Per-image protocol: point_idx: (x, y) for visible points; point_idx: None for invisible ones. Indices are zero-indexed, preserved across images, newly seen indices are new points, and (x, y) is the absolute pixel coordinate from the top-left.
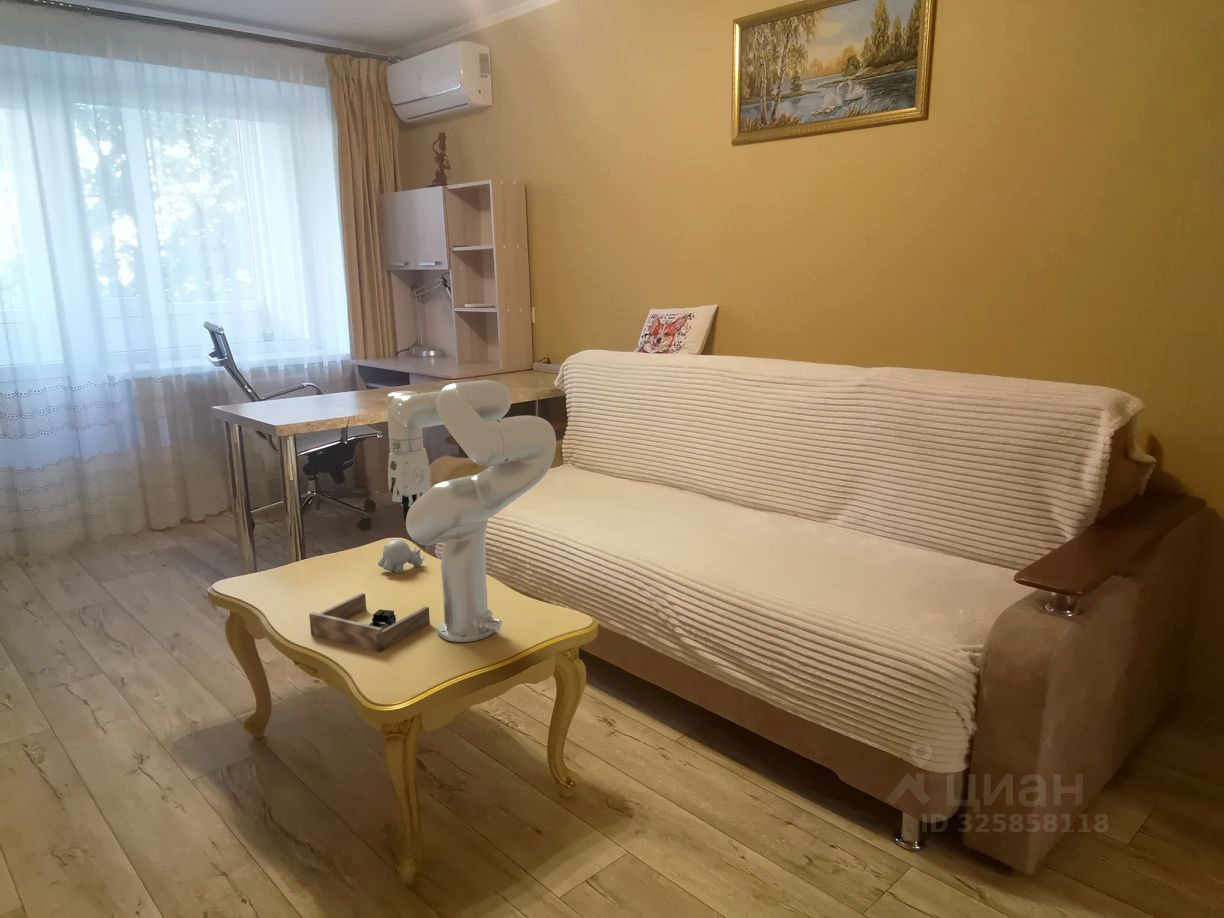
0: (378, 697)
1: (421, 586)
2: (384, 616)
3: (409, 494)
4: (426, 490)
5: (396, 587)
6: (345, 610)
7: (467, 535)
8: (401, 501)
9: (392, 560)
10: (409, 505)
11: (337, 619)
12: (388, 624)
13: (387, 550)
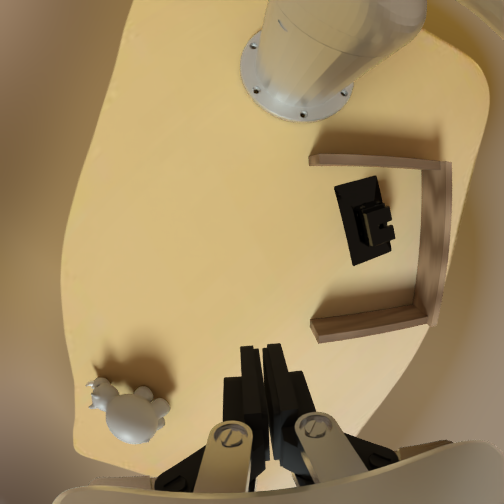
0: (484, 91)
1: (163, 314)
2: (389, 213)
3: (447, 454)
4: (92, 483)
5: (195, 351)
6: (365, 321)
7: None
8: (403, 450)
9: (152, 409)
10: (335, 422)
11: (445, 264)
12: (358, 221)
13: (151, 430)
